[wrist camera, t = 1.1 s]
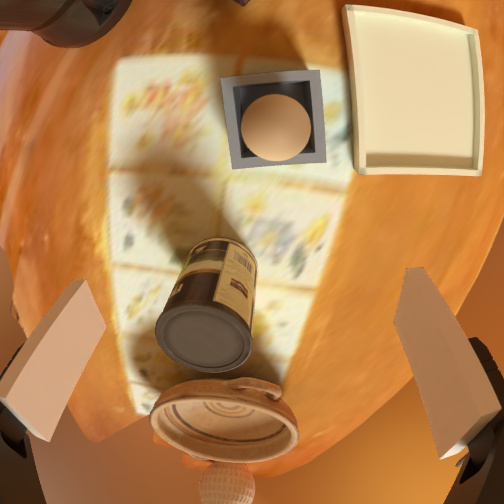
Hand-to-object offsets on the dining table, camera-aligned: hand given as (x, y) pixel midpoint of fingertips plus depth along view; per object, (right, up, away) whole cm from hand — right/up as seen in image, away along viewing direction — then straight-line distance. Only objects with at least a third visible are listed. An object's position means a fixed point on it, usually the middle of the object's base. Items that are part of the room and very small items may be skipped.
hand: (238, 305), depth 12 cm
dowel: (+3, +17, +19) cm, 26 cm away
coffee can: (-4, 0, +31) cm, 31 cm away
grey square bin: (+3, +18, +20) cm, 27 cm away
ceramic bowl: (-4, -28, +46) cm, 54 cm away
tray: (+21, +21, +17) cm, 34 cm away
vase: (-6, -61, +65) cm, 89 cm away
